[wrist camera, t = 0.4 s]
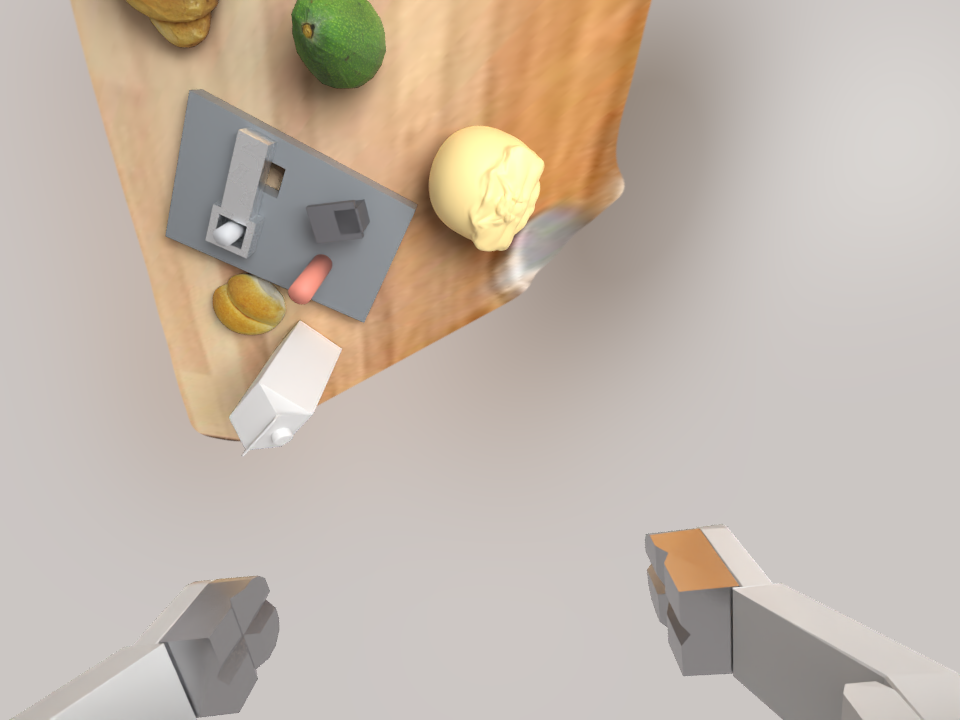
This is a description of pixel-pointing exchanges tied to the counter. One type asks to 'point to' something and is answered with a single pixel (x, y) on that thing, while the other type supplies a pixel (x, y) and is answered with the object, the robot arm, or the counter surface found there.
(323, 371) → the milk carton
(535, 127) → the counter surface
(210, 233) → the link
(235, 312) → the bread roll
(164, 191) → the counter surface
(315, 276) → the peg
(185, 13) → the bread roll
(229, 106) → the board
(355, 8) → the avocado
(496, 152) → the sculpture
